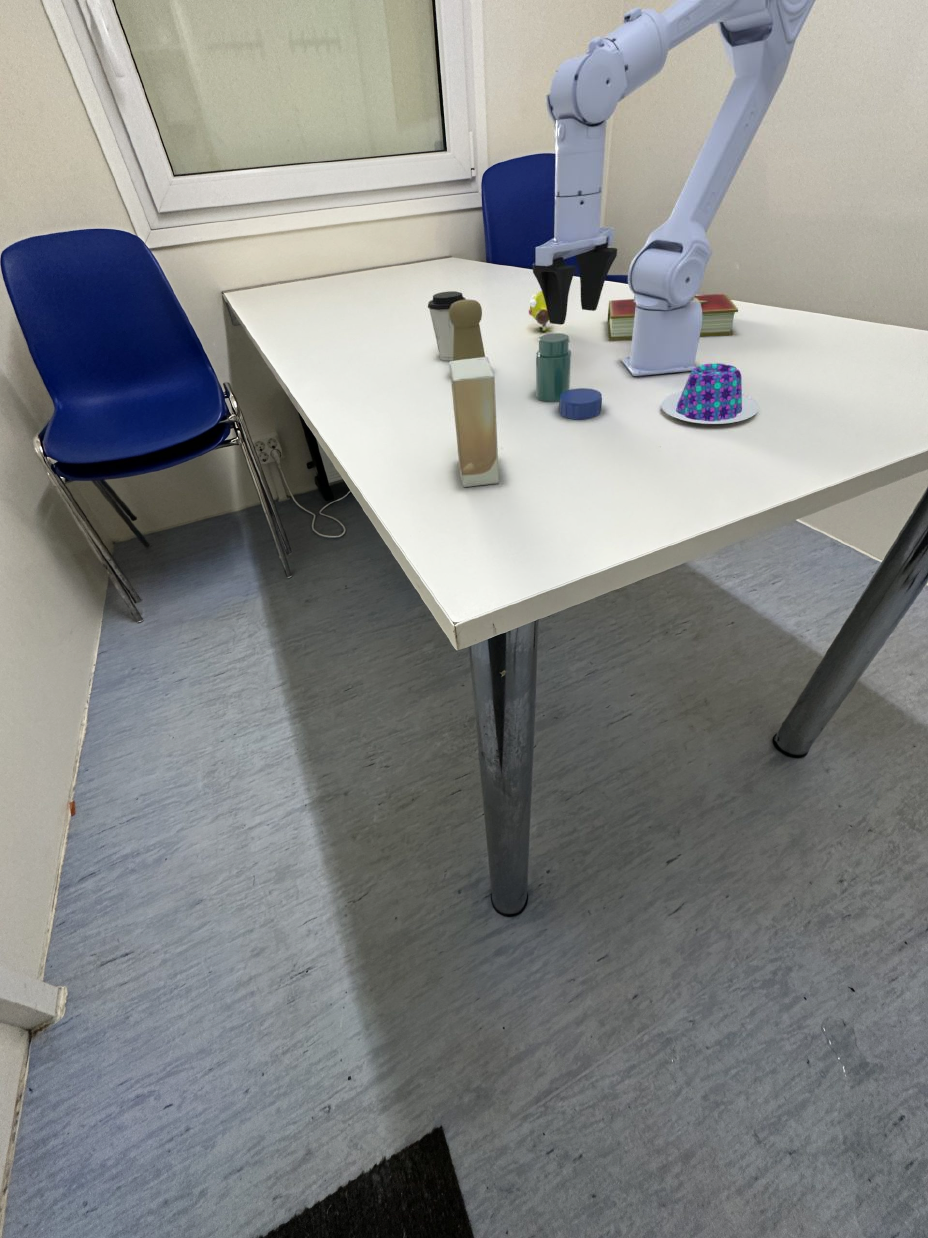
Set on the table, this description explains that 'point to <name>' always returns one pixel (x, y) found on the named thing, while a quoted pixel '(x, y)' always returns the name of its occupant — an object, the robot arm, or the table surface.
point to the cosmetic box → (475, 420)
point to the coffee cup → (444, 321)
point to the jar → (553, 367)
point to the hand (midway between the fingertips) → (573, 316)
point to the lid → (580, 403)
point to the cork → (466, 329)
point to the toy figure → (539, 310)
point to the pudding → (711, 397)
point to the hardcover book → (714, 306)
